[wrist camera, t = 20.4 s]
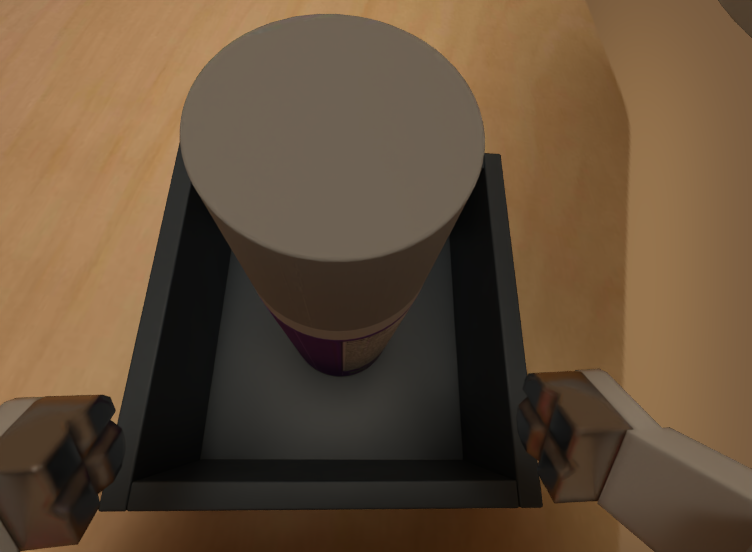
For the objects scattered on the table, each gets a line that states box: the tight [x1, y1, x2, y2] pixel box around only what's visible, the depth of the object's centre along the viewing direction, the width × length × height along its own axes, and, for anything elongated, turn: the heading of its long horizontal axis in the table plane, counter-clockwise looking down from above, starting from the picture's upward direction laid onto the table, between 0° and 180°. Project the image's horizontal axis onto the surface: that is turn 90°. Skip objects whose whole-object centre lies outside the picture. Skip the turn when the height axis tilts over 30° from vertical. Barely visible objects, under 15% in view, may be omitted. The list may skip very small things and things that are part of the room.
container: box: [180, 14, 485, 377], centre depth 13 cm, size 5×5×15 cm
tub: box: [98, 143, 543, 512], centre depth 17 cm, size 14×14×7 cm
